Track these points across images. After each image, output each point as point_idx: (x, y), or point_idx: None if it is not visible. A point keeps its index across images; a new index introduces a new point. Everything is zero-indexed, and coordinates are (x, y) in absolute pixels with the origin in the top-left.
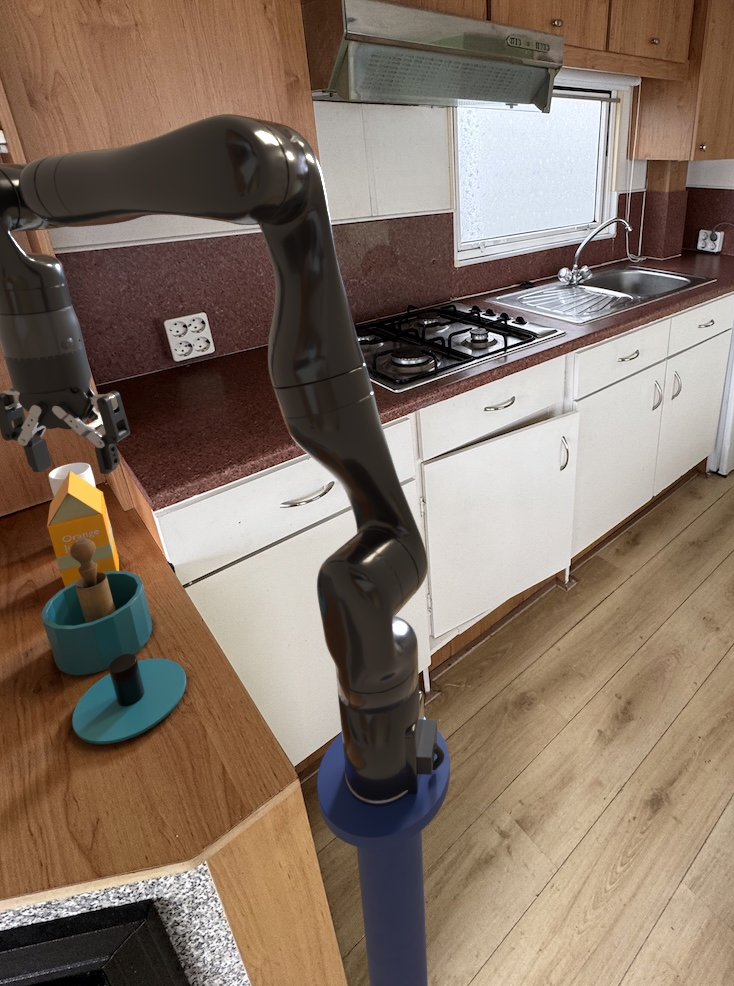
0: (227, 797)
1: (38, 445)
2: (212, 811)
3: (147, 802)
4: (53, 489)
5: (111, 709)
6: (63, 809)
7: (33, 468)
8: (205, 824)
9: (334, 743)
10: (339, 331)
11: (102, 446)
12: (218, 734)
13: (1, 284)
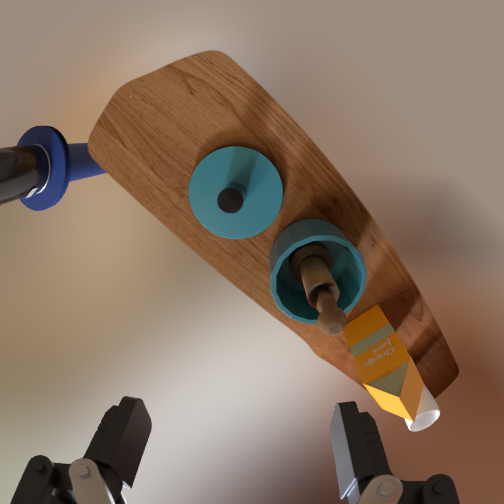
0: (112, 126)
1: (346, 481)
2: (116, 115)
3: (164, 111)
4: (432, 400)
5: (244, 178)
6: (225, 96)
7: (353, 409)
8: (117, 107)
9: (62, 177)
10: None
11: (77, 460)
12: (142, 171)
13: None
